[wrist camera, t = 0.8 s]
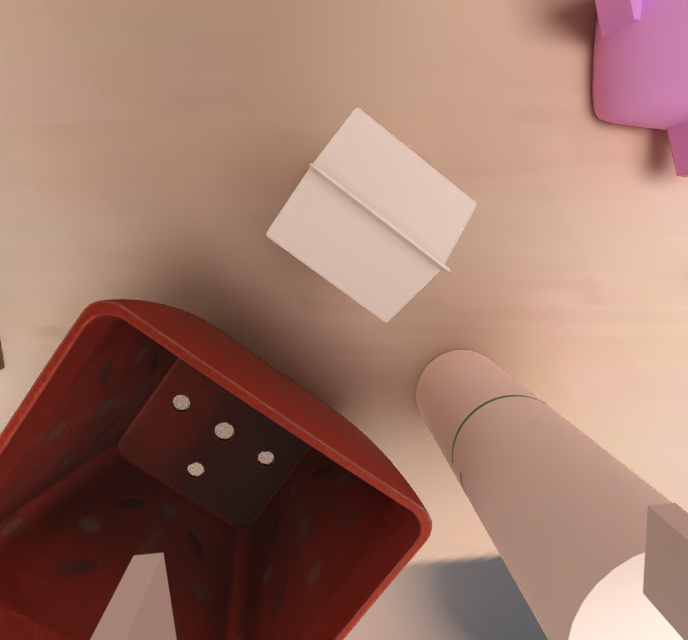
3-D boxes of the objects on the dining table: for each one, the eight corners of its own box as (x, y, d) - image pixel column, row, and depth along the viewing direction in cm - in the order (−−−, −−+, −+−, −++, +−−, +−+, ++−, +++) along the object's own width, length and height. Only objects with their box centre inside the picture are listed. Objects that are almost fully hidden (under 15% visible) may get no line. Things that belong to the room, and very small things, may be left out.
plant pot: (49, 456, 41) (-128, 619, 24) (187, 258, 38) (95, 289, 22) (252, 577, 44) (218, 795, 27) (390, 401, 42) (443, 522, 25)
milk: (350, 274, 40) (398, 348, 18) (284, 226, 38) (252, 242, 17) (399, 208, 39) (511, 202, 17) (333, 157, 38) (365, 82, 16)
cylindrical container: (429, 446, 43) (592, 755, 18) (404, 366, 41) (544, 584, 17) (513, 418, 43) (788, 689, 18) (490, 337, 41) (757, 513, 17)
